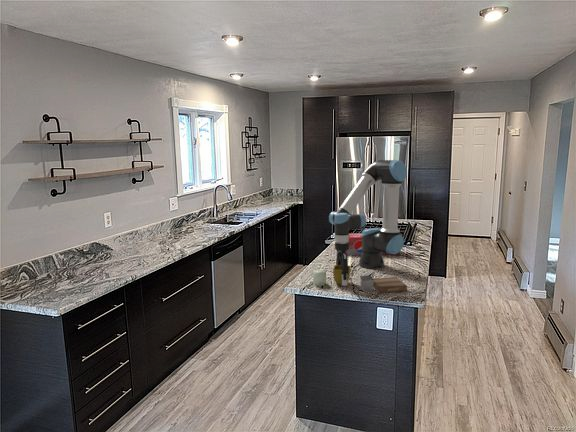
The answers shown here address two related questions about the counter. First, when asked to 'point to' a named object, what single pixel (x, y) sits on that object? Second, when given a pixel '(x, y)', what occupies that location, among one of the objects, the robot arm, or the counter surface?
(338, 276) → the flower pot
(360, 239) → the soda box
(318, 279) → the pale green rounded cylinder
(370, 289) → the metal tin
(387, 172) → the robot arm
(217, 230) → the counter surface
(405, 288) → the brown curved panel
